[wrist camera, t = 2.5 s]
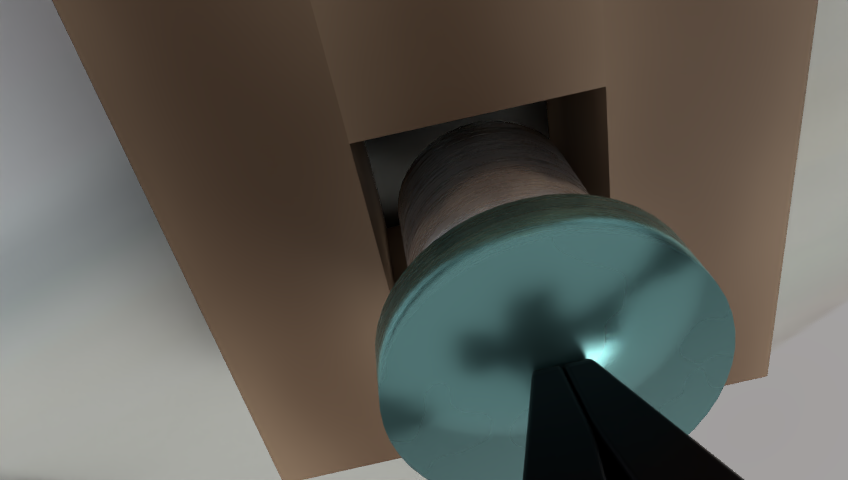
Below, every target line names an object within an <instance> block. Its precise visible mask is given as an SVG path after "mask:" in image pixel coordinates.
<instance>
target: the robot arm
mask: <svg viewBox="0 0 848 480" xmlns="http://www.w3.org/2000/svg"><path fill="white" fill-rule="evenodd" d="M523 480H744V479H743V478H741V477H740V476H739V475H738V474H736V473H735V472H734V471H733V470H732V469H730V468H729V467H728V466H726V465H725V464H724V463H723V462H721V461H720V460H719V459H718V458H716V457H715V456H714V455H713V454H711V453H710V452H709V451H707V450H706V449H705V448H704V447H703V446H701V445H700V444H699V443H698V442H696V441H695V440H694V439H692V438H691V437H690V436H689V435H687V434H686V433H685V432H684V431H682V430H681V429H680V428H679V427H677V426H676V425H675V424H674V423H672V422H671V421H670V420H669V419H667V418H666V417H665V416H664V415H662V414H661V413H660V412H659V411H657V410H656V409H655V408H654V407H652V406H651V405H650V404H648V403H647V402H646V401H645V400H643V399H642V398H641V397H640V396H638V395H637V394H636V393H635V392H633V391H632V390H631V389H630V388H628V387H627V386H626V385H625V384H623V383H622V382H621V381H620V380H618V379H617V378H616V377H614V376H613V375H612V374H611V373H609V372H608V371H607V370H606V369H604V368H603V367H602V366H601V365H599V364H598V363H597V362H596V361H594V360H592V359H583V360H579V361H574V362H570V363H566V364H565V365H564V366H563V367H562V368H561V367H560V366H558V365H557V366H551V367H547V368H542V369H538V370H535V371H534V372H533V373H532V378H531V389H530V401H529V412H528V424H527V435H526V447H525V458H524V470H523Z"/></svg>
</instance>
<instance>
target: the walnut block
mask: <svg viewBox="0 0 848 480" xmlns="http://www.w3.org/2000/svg"><path fill="white" fill-rule="evenodd" d="M52 1H53V3H54V6H55V8H56V10H57V12H58V14H59V16H60V18H61V20H62V22H63V24H64V26H65V28H66V31H67V33H68V35H69V37H70V39H71V41H72V43H73V45H74V47H75V49H76V51H77V53H78V56H79V58H80V60H81V62H82V64H83V66H84V68H85V70H86V72H87V74H88V76H89V78H90V81H91V83H92V85H93V87H94V89H95V91H96V93H97V95H98V97H99V99H100V101H101V104H102V106H103V108H104V110H105V112H106V114H107V116H108V118H109V120H110V122H111V124H112V126H113V129H114V131H115V133H116V135H117V137H118V139H119V141H120V143H121V145H122V147H123V149H124V151H125V154H126V156H127V158H128V160H129V162H130V164H131V166H132V168H133V170H134V172H135V174H136V176H137V179H138V181H139V183H140V185H141V187H142V189H143V191H144V193H145V195H146V197H147V199H148V202H149V204H150V206H151V208H152V210H153V212H154V214H155V216H156V218H157V220H158V222H159V224H160V227H161V229H162V231H163V233H164V235H165V237H166V239H167V241H168V243H169V245H170V247H171V249H172V252H173V254H174V256H175V258H176V260H177V262H178V264H179V266H180V268H181V270H182V272H183V275H184V277H185V279H186V281H187V283H188V285H189V287H190V289H191V291H192V293H193V295H194V297H195V300H196V302H197V304H198V306H199V308H200V310H201V312H202V314H203V316H204V318H205V320H206V322H207V325H208V327H209V329H210V331H211V333H212V335H213V337H214V339H215V341H216V343H217V345H218V347H219V350H220V352H221V354H222V356H223V358H224V360H225V362H226V364H227V366H228V368H229V370H230V373H231V375H232V377H233V379H234V381H235V383H236V385H237V387H238V389H239V391H240V393H241V395H242V398H243V400H244V402H245V404H246V406H247V408H248V410H249V412H250V414H251V416H252V418H253V420H254V423H255V425H256V427H257V429H258V431H259V433H260V435H261V437H262V439H263V441H264V443H265V445H266V448H267V450H268V452H269V454H270V456H271V458H272V460H273V462H274V464H275V466H276V468H277V471H278V473H279V475H280V477H281V479H282V480H303V479H308V478H312V477H317V476H321V475H326V474H330V473H335V472H339V471H344V470H348V469H353V468H357V467H362V466H366V465H371V464H375V463H380V462H384V461H389V460H393V459H398V458H402V457H401V456H400V455H399V454H398V452H397V451H396V449H395V448H394V446H393V445H392V443H391V442H390V440H389V438H388V435H387V433H386V431H385V428H384V426H383V421H382V417H381V412H380V405H379V394H378V382H377V370H376V356H375V339H376V332H377V325H378V321H379V318H380V315H381V312H382V308H383V306H384V304H385V302H386V300H387V298H388V295H389V293H390V291H391V289H392V288H393V286H394V285H395V283H396V282H397V280H398V279H399V277H400V276H401V274H402V273H403V272H404V270H405V269H406V268H407V262H406V256H405V250H404V245H403V239H402V233H401V227H400V225H399V226H395V227H390V228H387V226H386V223H385V219H384V215H383V211H382V207H381V203H380V199H379V195H378V191H377V188H376V184H375V180H374V176H373V172H372V168H371V164H370V160H369V157H368V153H367V149H366V145H365V141H364V140H369V139H373V138H378V137H382V136H387V135H391V134H396V133H400V132H405V131H409V130H414V129H418V128H423V127H427V126H432V125H436V124H440V123H445V122H449V121H454V120H458V119H463V118H467V117H472V116H476V115H481V114H485V113H490V112H494V111H499V110H503V109H508V108H512V107H517V106H521V105H525V104H530V103H534V102H539V101H543V100H546V105H547V116H548V128H549V139H550V141H551V142H552V143H553V144H554V145H555V146H556V147H557V148H558V149H559V151H560V152H561V154H562V155H563V156H564V158H565V159H566V161H567V162H568V164H569V165H570V167H571V168H572V170H573V171H574V172H575V174H576V175H577V177H578V178H579V180H580V181H581V183H582V184H583V186H584V187H585V189H586V190H587V192H588V193H589V194H590V195H597V196H602V197H607V198H612V199H617V200H620V201H623V202H626V203H628V204H631V205H634V206H637V207H639V208H641V209H643V210H645V211H646V212H648V213H650V214H652V215H654V216H656V217H657V218H658V219H660V220H661V221H662V222H663V223H665V224H666V225H667V226H669V227H670V228H671V229H672V230H673V231H674V232H675V233H676V234H677V235H678V237H679V238H680V239H681V240H682V241H683V242H684V243H685V245H686V246H687V247H688V248H689V249H690V251H691V252H692V253H693V254H694V255H695V257H696V258H697V259H698V260H699V261H700V263H701V264H702V265H703V266H704V268H705V269H706V270H707V271H708V272H709V274H710V275H711V276H712V277H713V278H714V280H715V281H716V282H717V284H718V285H719V287H720V288H721V290H722V292H723V293H724V295H725V296H726V298H727V301H728V303H729V306H730V309H731V311H732V314H733V320H734V326H735V351H734V357H733V362H732V366H731V369H730V372H729V375H728V378H727V381H726V383H725V385H730V384H734V383H739V382H743V381H747V380H752V379H757V378H761V377H765V376H767V374H768V367H769V359H770V352H771V345H772V337H773V330H774V323H775V315H776V308H777V300H778V293H779V286H780V278H781V271H782V263H783V256H784V249H785V241H786V234H787V227H788V219H789V212H790V204H791V197H792V190H793V182H794V175H795V168H796V160H797V153H798V145H799V138H800V131H801V123H802V116H803V109H804V101H805V94H806V86H807V79H808V72H809V64H810V57H811V50H812V42H813V35H814V27H815V20H816V13H817V5H818V0H52ZM725 385H724V386H725Z"/></svg>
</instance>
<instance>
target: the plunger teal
mask: <svg viewBox="0 0 848 480" xmlns="http://www.w3.org/2000/svg"><path fill="white" fill-rule="evenodd" d="M398 215H399V221H400V227H401V233H402V239H403V245H404V250H405V256H406V262H407V268H406V269H405V270H404V272H403V273H402V274H401V276H400V277H399V279H398V280H397V282H396V283H395V285H394V286H393V288H392V289H391V291H390V293H389V295H388V298H387V300H386V302H385V304H384V306H383V308H382V312H381V315H380V318H379V321H378V325H377V332H376V339H375V356H376V370H377V382H378V394H379V405H380V412H381V417H382V421H383V426H384V428H385V431H386V433H387V435H388V438H389V440H390V442H391V443H392V445H393V446H394V448H395V449H396V451H397V452H398V454H399V455H400V456H401V457H402V458H403V459H404V460H405V461H406V463H407V464H408V465H409V466H410V467H411V468H413V469H414V470H415V471H417V472H418V473H419V474H420V475H422V476H423V477H425V478H426V479H428V480H523V470H524V458H525V447H526V435H527V424H528V412H529V401H530V389H531V378H532V373H533V372H534V371H535V370H538V369H542V368H547V367H551V366H557V365H558V366H560V367H561V368H562V367H563V366H564V365H565V364H566V363H570V362H574V361H579V360H583V359H592V360H594V361H596V362H597V363H598V364H599V365H601V366H602V367H603V368H604V369H606V370H607V371H608V372H609V373H611V374H612V375H613V376H614V377H616V378H617V379H618V380H620V381H621V382H622V383H623V384H625V385H626V386H627V387H628V388H630V389H631V390H632V391H633V392H635V393H636V394H637V395H638V396H640V397H641V398H642V399H643V400H645V401H646V402H647V403H648V404H650V405H651V406H652V407H654V408H655V409H656V410H657V411H659V412H660V413H661V414H662V415H664V416H665V417H666V418H667V419H669V420H670V421H671V422H672V423H674V424H675V425H676V426H677V427H679V428H680V429H681V430H682V431H684V432H685V433H686V434H687V435H688V434H690V433H691V431H693V430H694V429H695V427H696V426H697V425H698V424H699V423H700V422H701V420H702V419H703V418H704V417H705V416H706V415H707V413H708V412H709V411H710V409H711V407H712V406H713V404H714V403H715V402H716V400H717V399H718V397H719V395H720V393H721V391H722V389H723V387H724V385H725V383H726V381H727V378H728V375H729V372H730V369H731V366H732V362H733V357H734V351H735V326H734V320H733V314H732V311H731V309H730V306H729V303H728V301H727V298H726V296H725V295H724V293H723V292H722V290H721V288H720V287H719V285H718V284H717V282H716V281H715V280H714V278H713V277H712V276H711V275H710V274H709V272H708V271H707V270H706V269H705V268H704V266H703V265H702V264H701V263H700V261H699V260H698V259H697V258H696V257H695V255H694V254H693V253H692V252H691V251H690V249H689V248H688V247H687V246H686V245H685V243H684V242H683V241H682V240H681V239H680V238H679V237H678V235H677V234H676V233H675V232H674V231H673V230H672V229H671V228H670V227H669V226H667V225H666V224H665V223H663V222H662V221H661V220H660V219H658V218H657V217H656V216H654V215H652V214H650V213H648V212H646V211H645V210H643V209H641V208H639V207H637V206H634V205H631V204H628V203H626V202H623V201H620V200H617V199H612V198H607V197H602V196H597V195H590V194H589V193H588V192H587V190H586V189H585V187H584V186H583V184H582V183H581V181H580V180H579V178H578V177H577V175H576V174H575V172H574V171H573V170H572V168H571V167H570V165H569V164H568V162H567V161H566V159H565V158H564V156H563V155H562V154H561V152H560V151H559V149H558V148H557V147H556V146H555V145H554V144H553V143H552V142H551V141H550V140H549V139H548V138H546V137H545V136H544V135H542V134H541V133H539V132H537V131H535V130H534V129H532V128H529V127H526V126H524V125H521V124H517V123H512V122H505V121H485V122H478V123H473V124H469V125H466V126H462V127H460V128H457V129H455V130H453V131H450V132H448V133H447V134H445V135H443V136H441V137H440V138H438V139H437V140H435V141H434V142H433V143H431V144H430V145H429V146H428V147H427V148H426V149H425V150H424V151H423V152H421V153H420V155H419V156H418V157H417V158H416V160H415V161H414V162H413V163H412V165H411V167H410V168H409V170H408V172H407V173H406V176H405V178H404V180H403V182H402V186H401V189H400V193H399V200H398Z"/></svg>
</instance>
